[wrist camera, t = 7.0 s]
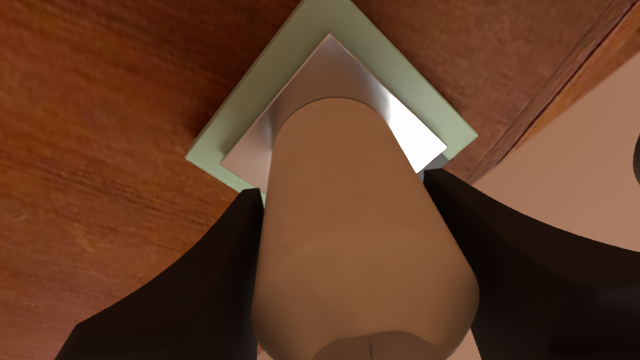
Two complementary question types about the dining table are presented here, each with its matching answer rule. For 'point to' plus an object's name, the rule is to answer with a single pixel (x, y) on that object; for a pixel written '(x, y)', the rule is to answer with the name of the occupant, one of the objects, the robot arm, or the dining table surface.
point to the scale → (288, 52)
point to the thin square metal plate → (322, 83)
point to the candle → (355, 247)
